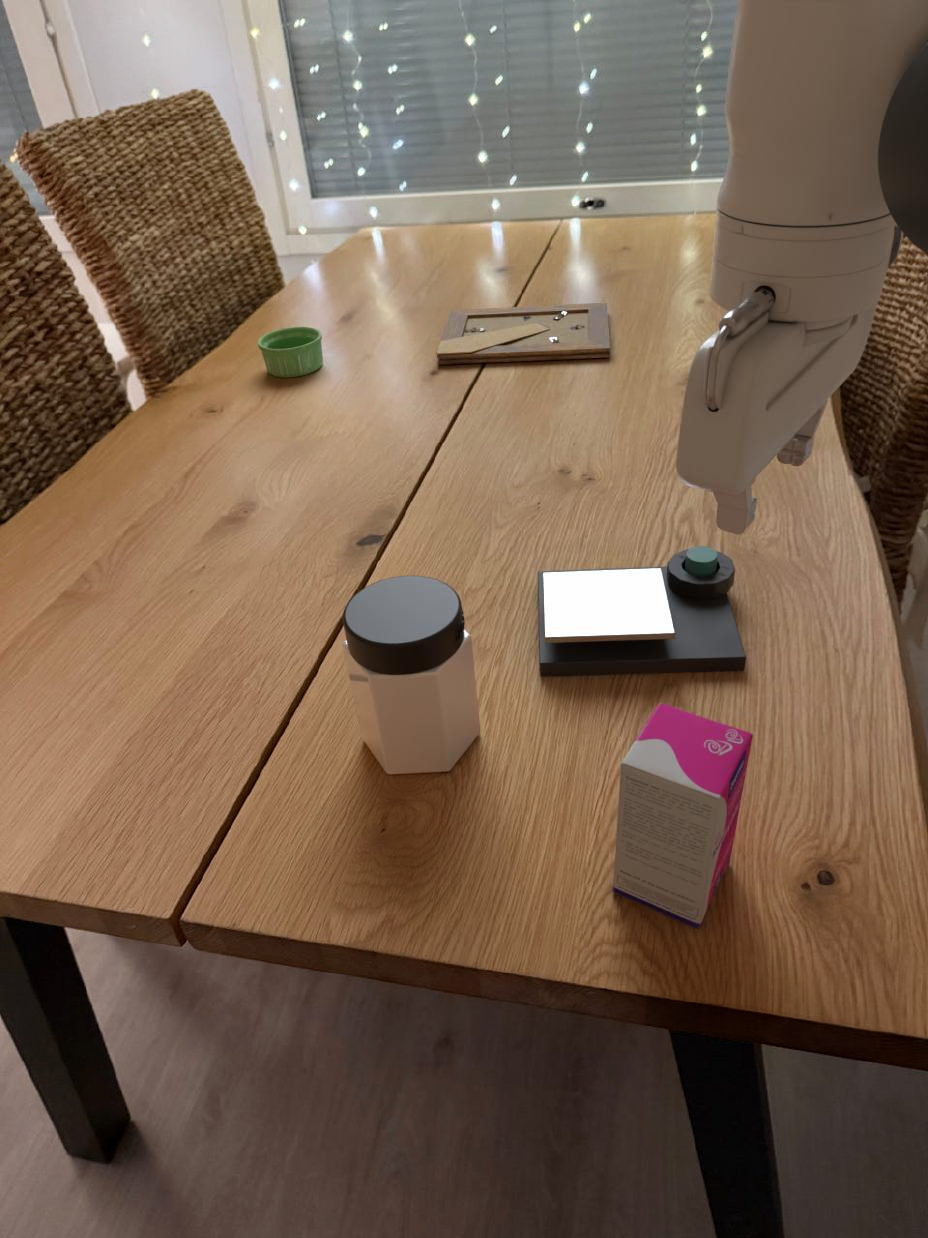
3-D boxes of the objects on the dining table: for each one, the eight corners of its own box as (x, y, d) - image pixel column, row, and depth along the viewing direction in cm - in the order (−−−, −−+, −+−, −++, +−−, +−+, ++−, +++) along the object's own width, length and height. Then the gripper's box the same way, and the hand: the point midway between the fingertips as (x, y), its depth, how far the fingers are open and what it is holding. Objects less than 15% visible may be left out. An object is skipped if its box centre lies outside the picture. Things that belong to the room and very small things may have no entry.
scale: (725, 575, 83) (728, 546, 81) (754, 670, 72) (758, 640, 70) (538, 582, 84) (536, 554, 82) (540, 676, 74) (538, 647, 72)
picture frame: (437, 366, 128) (609, 358, 125) (436, 353, 127) (610, 345, 124) (452, 319, 143) (606, 312, 140) (451, 308, 142) (606, 300, 138)
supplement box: (703, 933, 54) (719, 800, 47) (610, 893, 57) (613, 762, 50) (735, 862, 58) (755, 729, 51) (646, 827, 61) (654, 697, 54)
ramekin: (332, 354, 135) (327, 324, 132) (319, 378, 128) (313, 347, 125) (273, 356, 136) (267, 327, 133) (256, 381, 129) (249, 350, 126)
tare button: (713, 560, 80) (715, 545, 79) (718, 577, 78) (720, 561, 77) (683, 561, 80) (684, 546, 79) (687, 578, 78) (688, 562, 77)
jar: (498, 749, 67) (487, 619, 60) (399, 796, 65) (375, 665, 57) (441, 683, 74) (425, 558, 67) (348, 723, 71) (321, 597, 64)
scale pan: (660, 573, 78) (661, 567, 78) (674, 639, 71) (675, 633, 71) (543, 578, 79) (543, 572, 79) (545, 643, 72) (544, 637, 72)
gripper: (782, 336, 41) (747, 590, 49) (913, 219, 53) (868, 437, 62) (652, 316, 44) (640, 558, 52) (805, 210, 57) (776, 419, 65)
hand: (765, 491), depth 57 cm, fingers open, 8 cm apart
